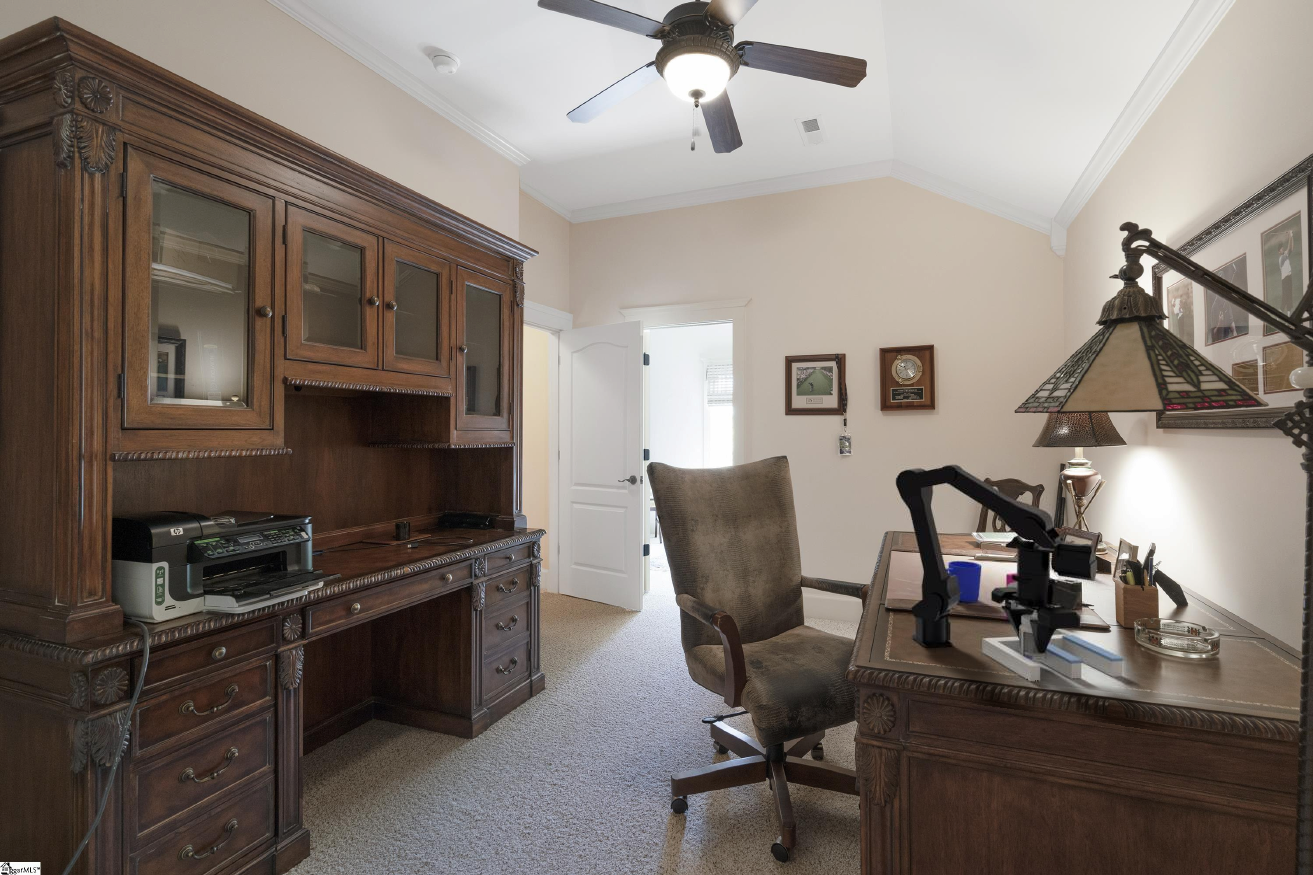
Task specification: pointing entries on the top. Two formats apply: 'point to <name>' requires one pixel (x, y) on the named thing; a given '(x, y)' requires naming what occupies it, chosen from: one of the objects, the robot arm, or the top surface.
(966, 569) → the mug
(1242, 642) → the top surface
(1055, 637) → the white shelf frame
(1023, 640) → the pill bottle
